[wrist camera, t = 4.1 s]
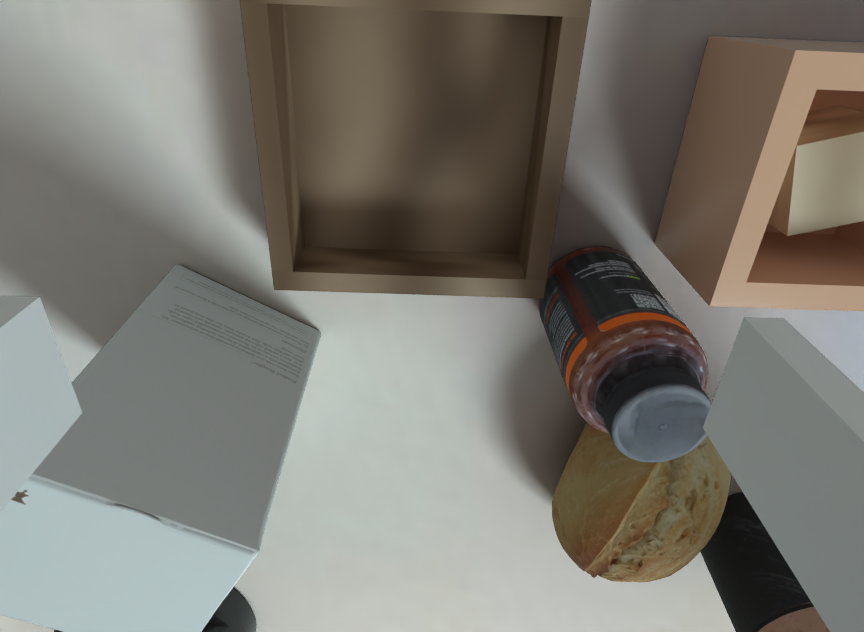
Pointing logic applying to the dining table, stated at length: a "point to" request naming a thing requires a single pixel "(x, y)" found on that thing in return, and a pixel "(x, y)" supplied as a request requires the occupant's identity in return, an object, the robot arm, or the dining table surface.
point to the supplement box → (160, 467)
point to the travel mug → (756, 575)
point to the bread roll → (637, 508)
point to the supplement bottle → (625, 355)
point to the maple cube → (823, 174)
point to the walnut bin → (413, 140)
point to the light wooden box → (760, 177)
